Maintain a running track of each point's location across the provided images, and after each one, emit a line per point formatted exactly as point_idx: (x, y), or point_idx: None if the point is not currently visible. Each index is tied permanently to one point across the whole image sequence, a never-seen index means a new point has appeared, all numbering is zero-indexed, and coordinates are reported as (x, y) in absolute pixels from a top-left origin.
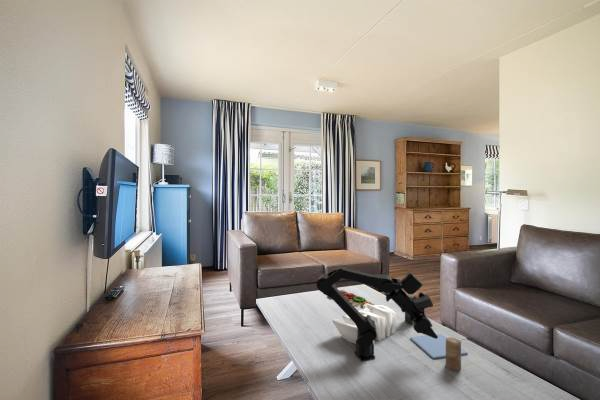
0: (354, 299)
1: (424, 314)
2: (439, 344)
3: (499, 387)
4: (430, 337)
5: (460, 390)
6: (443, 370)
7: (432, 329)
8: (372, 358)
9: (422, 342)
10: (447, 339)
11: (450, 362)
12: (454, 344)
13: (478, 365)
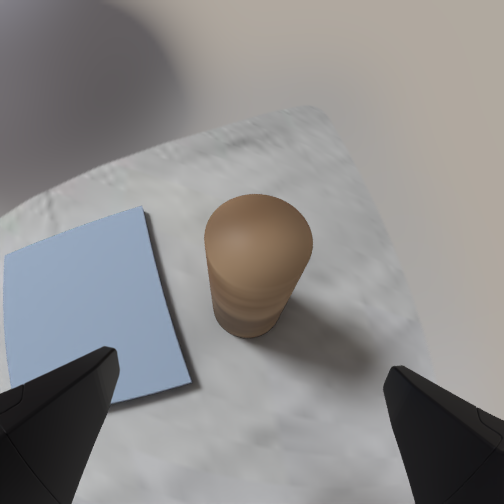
0: None
1: (5, 439)
2: (72, 300)
3: (344, 198)
4: (19, 316)
5: (405, 327)
6: (289, 361)
7: (480, 415)
8: None
9: None
10: (242, 270)
11: (278, 316)
12: (312, 246)
13: (221, 203)
